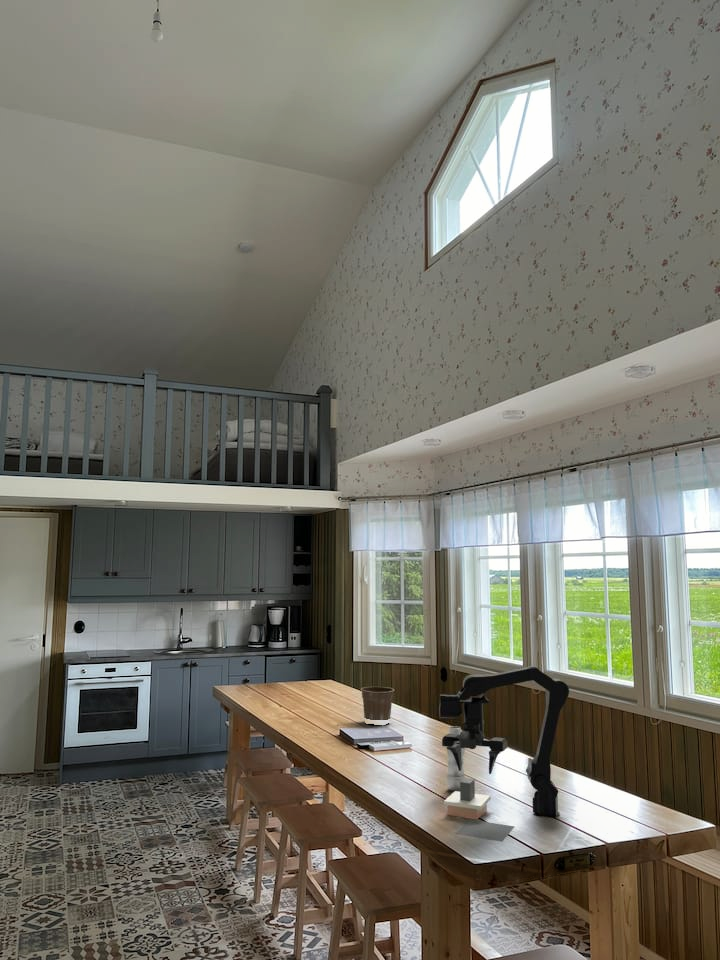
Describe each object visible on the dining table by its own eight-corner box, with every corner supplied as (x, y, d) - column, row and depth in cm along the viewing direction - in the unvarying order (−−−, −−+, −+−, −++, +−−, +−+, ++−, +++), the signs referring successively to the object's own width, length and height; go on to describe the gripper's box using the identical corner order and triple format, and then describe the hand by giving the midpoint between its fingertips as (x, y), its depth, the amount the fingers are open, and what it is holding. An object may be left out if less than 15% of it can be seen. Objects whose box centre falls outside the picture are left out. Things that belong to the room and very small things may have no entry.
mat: (514, 828, 202) (514, 826, 202) (502, 843, 190) (502, 841, 190) (469, 821, 207) (469, 819, 207) (455, 835, 196) (455, 833, 196)
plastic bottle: (463, 787, 241) (463, 725, 244) (467, 793, 234) (466, 729, 237) (444, 787, 241) (444, 725, 244) (447, 793, 234) (447, 729, 237)
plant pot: (401, 725, 343) (400, 690, 345) (371, 728, 335) (371, 692, 337) (382, 719, 357) (382, 685, 359) (354, 722, 349) (354, 687, 351)
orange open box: (486, 814, 215) (486, 800, 216) (477, 823, 207) (477, 808, 208) (458, 809, 219) (457, 795, 220) (447, 818, 211) (447, 803, 212)
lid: (490, 799, 216) (490, 778, 217) (481, 809, 206) (480, 787, 207) (455, 794, 221) (454, 774, 222) (444, 804, 211) (443, 783, 212)
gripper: (435, 720, 215) (436, 775, 213) (497, 725, 207) (499, 782, 205) (447, 714, 225) (448, 766, 223) (506, 718, 217) (508, 773, 215)
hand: (475, 772), depth 216 cm, fingers open, 9 cm apart
